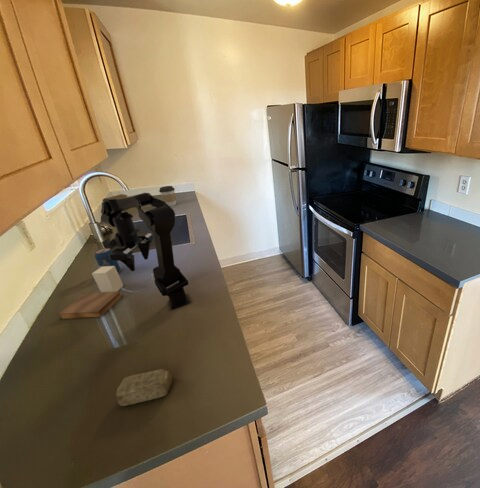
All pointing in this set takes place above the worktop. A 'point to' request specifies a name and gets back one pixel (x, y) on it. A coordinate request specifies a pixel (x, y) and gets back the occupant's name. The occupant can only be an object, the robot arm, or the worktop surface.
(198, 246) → the worktop surface
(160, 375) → the stone block
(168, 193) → the coffee cup
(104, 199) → the robot arm
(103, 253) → the soda can
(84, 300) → the wooden base plate
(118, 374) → the worktop surface
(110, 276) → the cream box
